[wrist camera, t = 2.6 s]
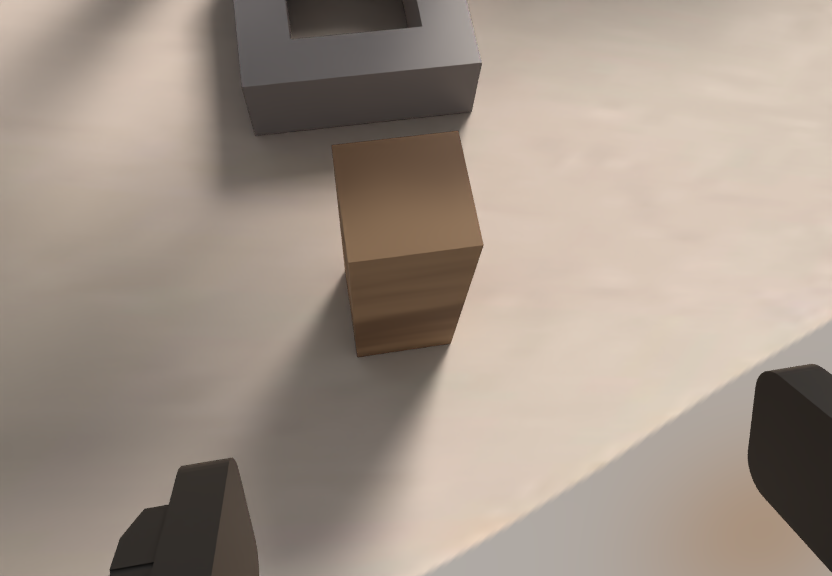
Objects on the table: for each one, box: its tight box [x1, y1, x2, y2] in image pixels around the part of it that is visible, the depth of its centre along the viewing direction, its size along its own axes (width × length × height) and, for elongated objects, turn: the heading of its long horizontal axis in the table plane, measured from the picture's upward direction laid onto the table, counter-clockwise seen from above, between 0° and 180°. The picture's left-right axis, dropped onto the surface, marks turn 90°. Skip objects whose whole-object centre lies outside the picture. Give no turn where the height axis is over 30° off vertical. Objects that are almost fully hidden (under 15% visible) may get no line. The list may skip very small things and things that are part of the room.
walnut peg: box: [332, 131, 483, 357], centre depth 29 cm, size 4×4×11 cm
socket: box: [233, 0, 482, 136], centre depth 37 cm, size 12×12×4 cm
